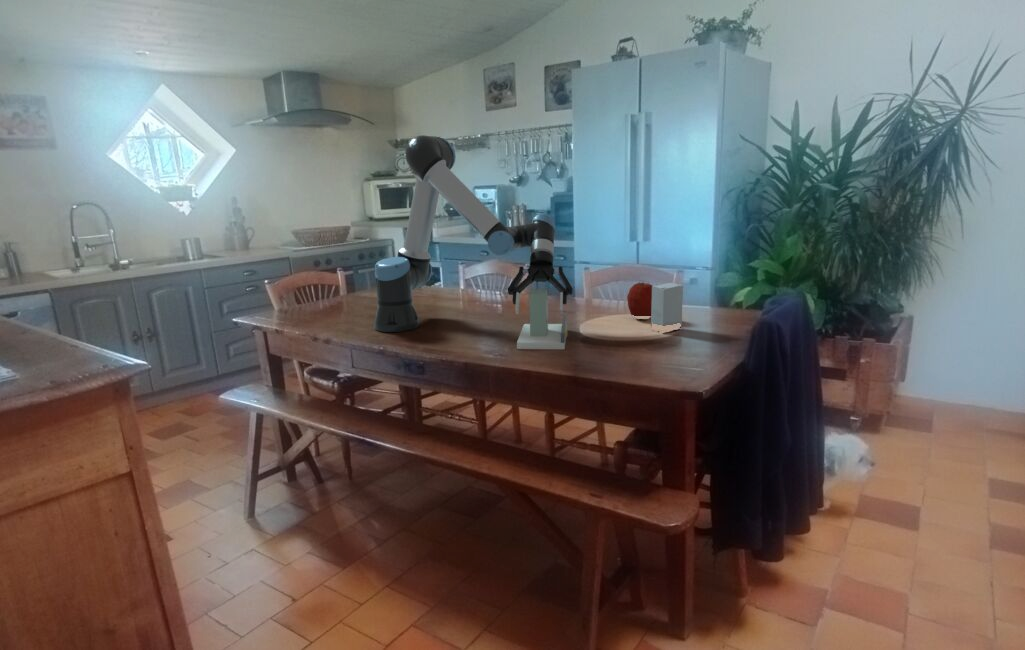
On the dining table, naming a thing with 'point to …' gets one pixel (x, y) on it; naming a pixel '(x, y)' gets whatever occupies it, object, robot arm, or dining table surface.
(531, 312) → the product carton
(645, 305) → the apple
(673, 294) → the skincare box
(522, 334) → the shelf board
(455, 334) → the dining table surface
